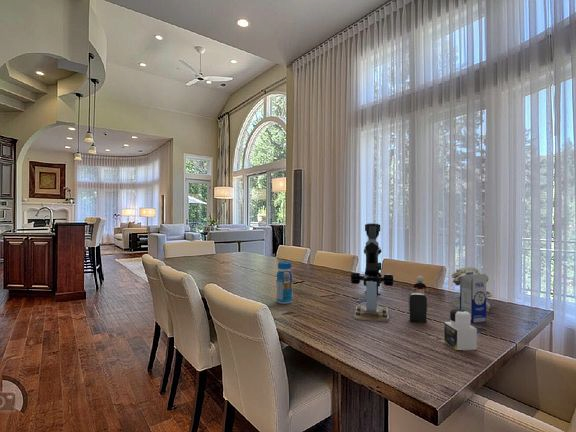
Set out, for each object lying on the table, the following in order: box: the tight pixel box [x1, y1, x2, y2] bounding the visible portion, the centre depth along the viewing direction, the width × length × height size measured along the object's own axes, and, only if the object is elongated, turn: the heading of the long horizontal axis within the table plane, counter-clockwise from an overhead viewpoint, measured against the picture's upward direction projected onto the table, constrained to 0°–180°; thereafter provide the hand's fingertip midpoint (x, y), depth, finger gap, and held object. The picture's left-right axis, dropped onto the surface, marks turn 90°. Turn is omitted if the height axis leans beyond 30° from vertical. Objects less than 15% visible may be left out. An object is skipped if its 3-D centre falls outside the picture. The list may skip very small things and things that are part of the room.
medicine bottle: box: [443, 308, 478, 351], centre depth 106 cm, size 7×7×12 cm
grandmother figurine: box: [411, 275, 429, 296], centre depth 160 cm, size 8×4×13 cm, turn 84°
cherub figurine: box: [449, 266, 493, 313], centre depth 153 cm, size 18×18×18 cm
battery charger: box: [408, 292, 428, 323], centre depth 130 cm, size 7×4×11 cm, turn 79°
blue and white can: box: [275, 260, 294, 305], centre depth 159 cm, size 8×8×20 cm
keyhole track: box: [353, 304, 390, 323], centre depth 138 cm, size 16×14×3 cm
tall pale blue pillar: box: [365, 281, 378, 313], centre depth 138 cm, size 5×4×13 cm
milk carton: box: [459, 272, 487, 324], centre depth 131 cm, size 7×7×20 cm
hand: (371, 295), depth 139 cm, fingers closed, pressing on tall pale blue pillar
